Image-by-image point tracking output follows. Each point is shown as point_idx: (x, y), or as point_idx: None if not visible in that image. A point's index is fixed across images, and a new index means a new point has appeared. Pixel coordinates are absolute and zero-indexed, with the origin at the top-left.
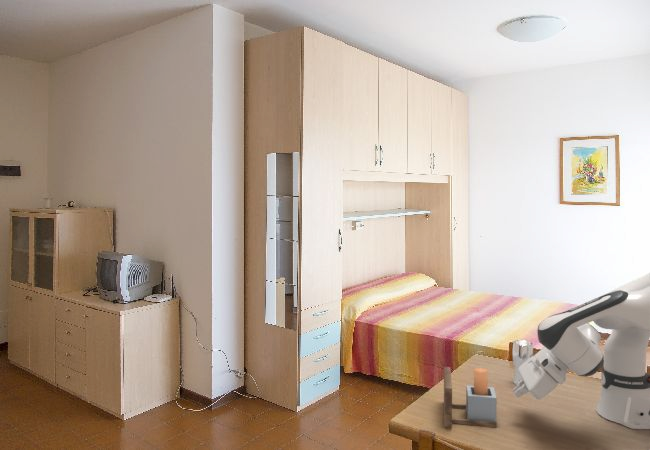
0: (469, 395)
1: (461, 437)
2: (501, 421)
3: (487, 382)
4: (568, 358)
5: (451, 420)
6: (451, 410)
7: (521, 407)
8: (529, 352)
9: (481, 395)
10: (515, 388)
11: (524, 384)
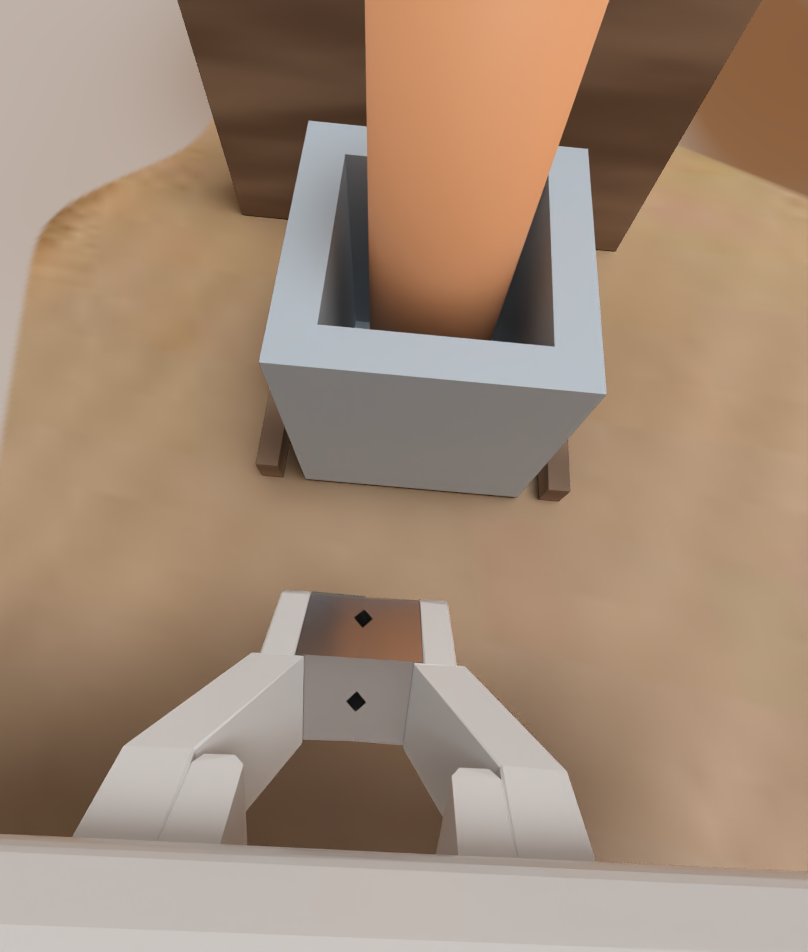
0: (317, 131)
1: (122, 246)
2: (367, 532)
3: (437, 186)
4: None
5: (229, 167)
6: (207, 92)
7: (691, 785)
8: None
9: (325, 227)
10: (404, 633)
11: (141, 826)
